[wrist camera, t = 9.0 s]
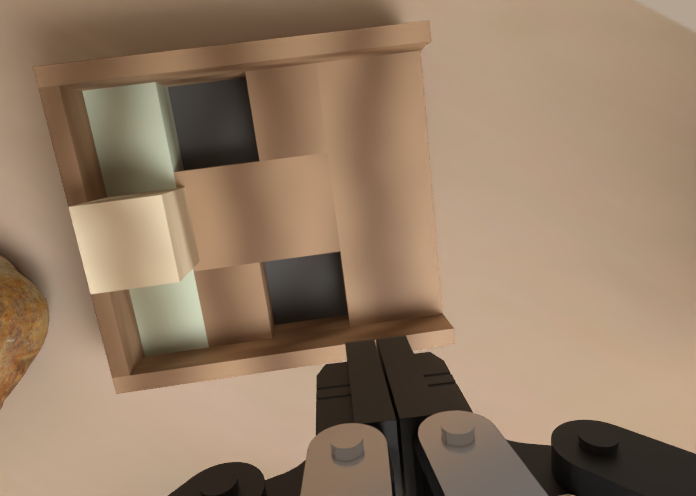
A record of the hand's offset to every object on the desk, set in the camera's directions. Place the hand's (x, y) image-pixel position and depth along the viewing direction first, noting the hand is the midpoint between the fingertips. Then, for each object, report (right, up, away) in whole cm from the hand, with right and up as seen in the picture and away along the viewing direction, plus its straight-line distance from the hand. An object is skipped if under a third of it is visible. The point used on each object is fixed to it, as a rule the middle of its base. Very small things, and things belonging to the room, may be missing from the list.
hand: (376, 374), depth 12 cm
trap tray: (-6, +6, +19) cm, 21 cm away
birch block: (-12, +4, +16) cm, 21 cm away
